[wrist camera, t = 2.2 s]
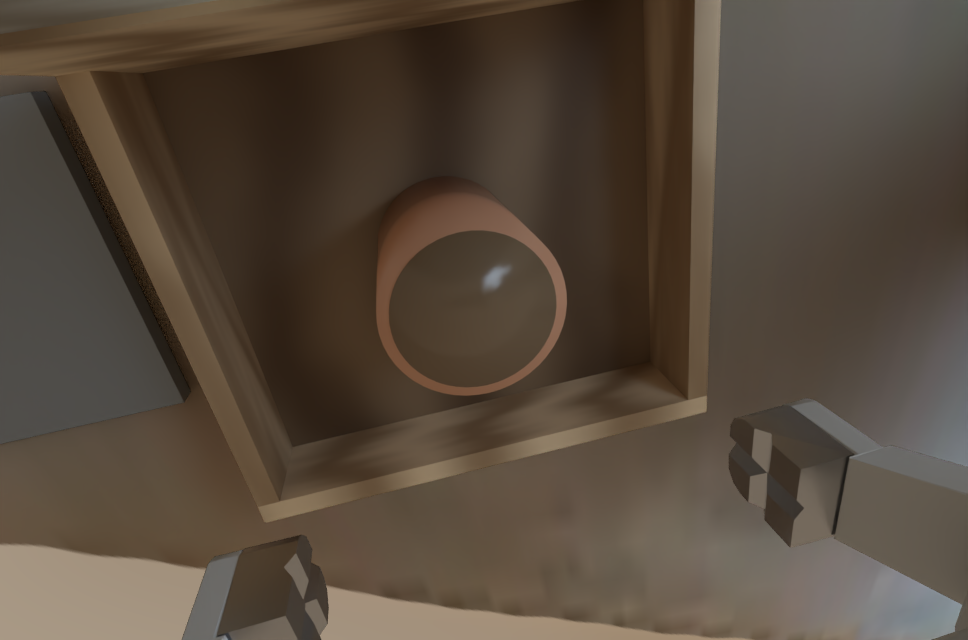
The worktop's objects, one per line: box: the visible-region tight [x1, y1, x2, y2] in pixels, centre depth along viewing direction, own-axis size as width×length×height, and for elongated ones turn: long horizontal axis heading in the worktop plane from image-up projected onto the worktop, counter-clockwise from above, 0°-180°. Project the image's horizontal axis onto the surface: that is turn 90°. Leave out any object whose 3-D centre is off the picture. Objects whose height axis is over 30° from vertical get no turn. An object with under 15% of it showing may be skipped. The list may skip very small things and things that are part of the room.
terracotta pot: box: [376, 176, 567, 396], centre depth 21 cm, size 6×6×8 cm
